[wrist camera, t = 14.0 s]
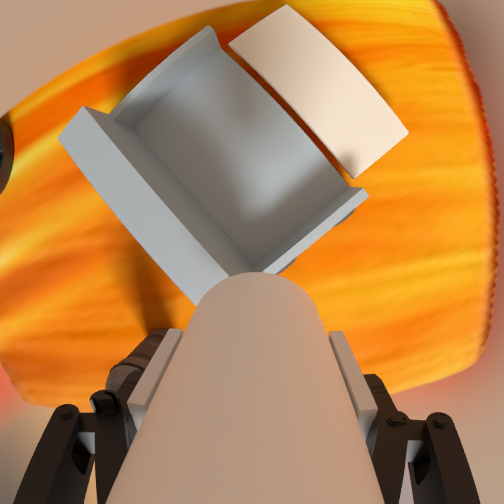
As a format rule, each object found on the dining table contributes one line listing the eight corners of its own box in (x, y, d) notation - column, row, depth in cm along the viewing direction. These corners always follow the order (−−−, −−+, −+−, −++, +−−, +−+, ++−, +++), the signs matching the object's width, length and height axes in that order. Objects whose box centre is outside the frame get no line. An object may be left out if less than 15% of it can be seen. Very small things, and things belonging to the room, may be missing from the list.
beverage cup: (164, 311, 41) (99, 400, 21) (196, 349, 42) (156, 451, 22) (132, 334, 42) (65, 417, 23) (162, 368, 43) (114, 462, 24)
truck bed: (114, 140, 35) (50, 128, 22) (213, 49, 32) (188, -7, 19) (245, 290, 39) (235, 345, 26) (353, 202, 36) (399, 215, 22)
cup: (187, 271, 18) (19, 512, 2) (324, 270, 18) (466, 533, 2) (199, 380, 20) (139, 591, 4) (315, 380, 20) (356, 598, 4)
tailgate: (228, 43, 28) (286, 3, 26) (229, 47, 29) (286, 8, 27) (354, 179, 31) (409, 133, 29) (351, 178, 32) (405, 134, 30)
